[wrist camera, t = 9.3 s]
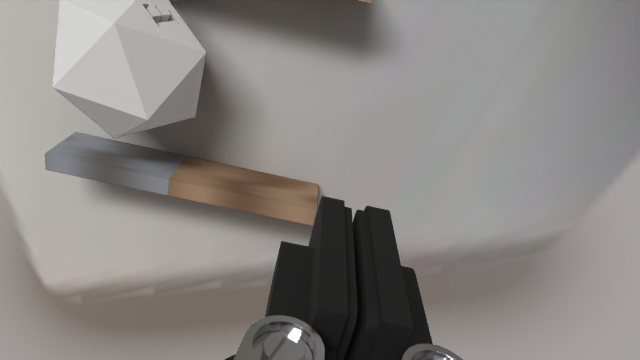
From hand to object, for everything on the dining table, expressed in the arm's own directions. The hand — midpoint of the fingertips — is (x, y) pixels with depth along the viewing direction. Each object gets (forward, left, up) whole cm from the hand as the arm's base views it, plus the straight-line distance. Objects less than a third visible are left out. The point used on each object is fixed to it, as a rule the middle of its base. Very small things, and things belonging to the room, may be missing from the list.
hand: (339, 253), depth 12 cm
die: (+12, +2, -22) cm, 25 cm away
